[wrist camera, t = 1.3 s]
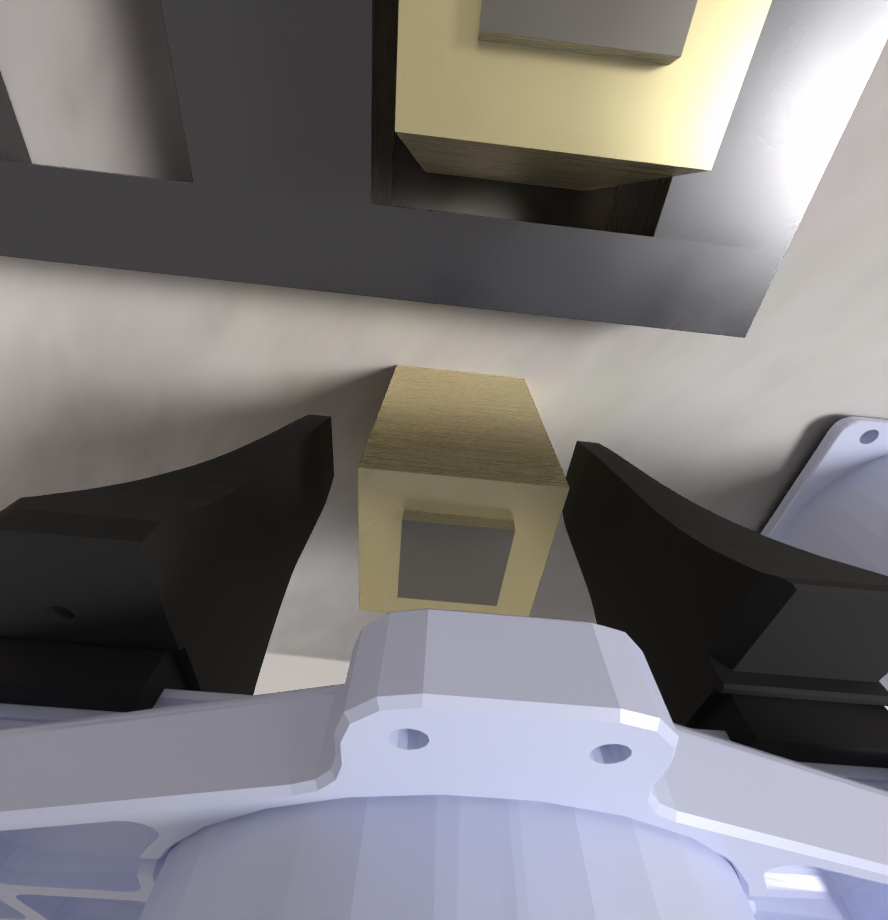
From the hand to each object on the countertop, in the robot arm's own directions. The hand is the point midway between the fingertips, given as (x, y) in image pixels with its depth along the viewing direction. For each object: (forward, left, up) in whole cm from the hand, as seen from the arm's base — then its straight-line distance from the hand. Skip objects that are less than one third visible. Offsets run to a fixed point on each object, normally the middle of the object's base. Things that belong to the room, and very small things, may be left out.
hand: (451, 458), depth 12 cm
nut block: (0, 0, -2) cm, 2 cm away
